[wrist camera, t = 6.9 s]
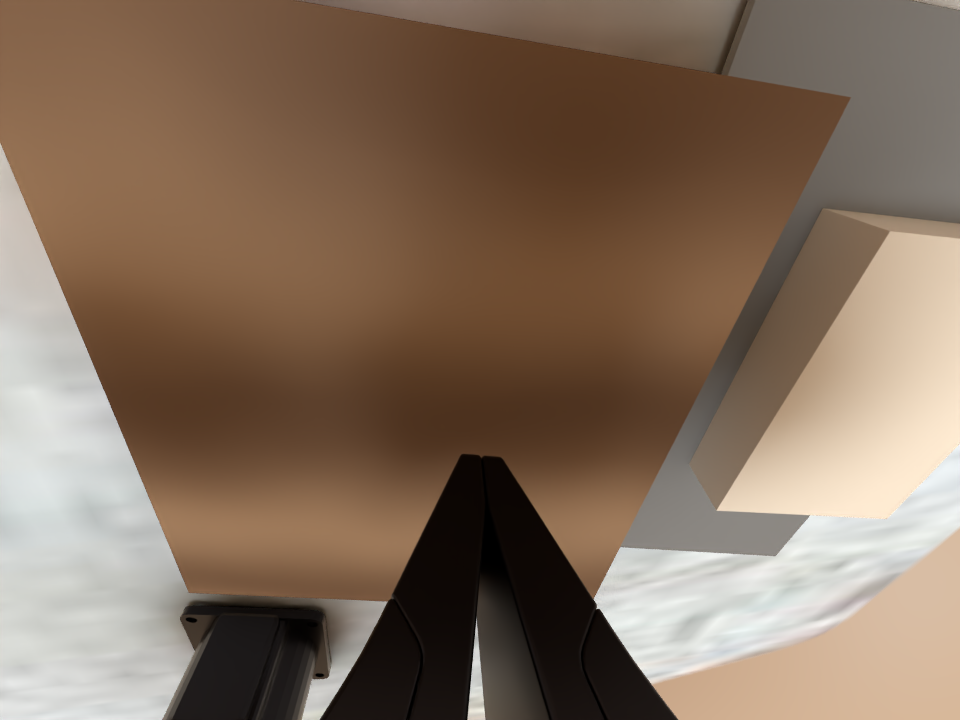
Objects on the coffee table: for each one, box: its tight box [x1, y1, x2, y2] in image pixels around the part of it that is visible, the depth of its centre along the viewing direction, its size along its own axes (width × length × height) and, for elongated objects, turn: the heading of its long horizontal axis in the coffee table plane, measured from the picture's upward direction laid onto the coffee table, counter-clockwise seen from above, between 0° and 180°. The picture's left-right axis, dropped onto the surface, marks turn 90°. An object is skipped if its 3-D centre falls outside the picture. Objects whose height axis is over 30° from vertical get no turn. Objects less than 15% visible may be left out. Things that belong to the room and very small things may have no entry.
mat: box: [620, 0, 960, 556], centre depth 14 cm, size 18×10×1 cm, turn 172°
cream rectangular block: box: [689, 208, 960, 519], centre depth 12 cm, size 9×6×2 cm, turn 174°
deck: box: [0, 0, 851, 601], centre depth 11 cm, size 14×12×4 cm
